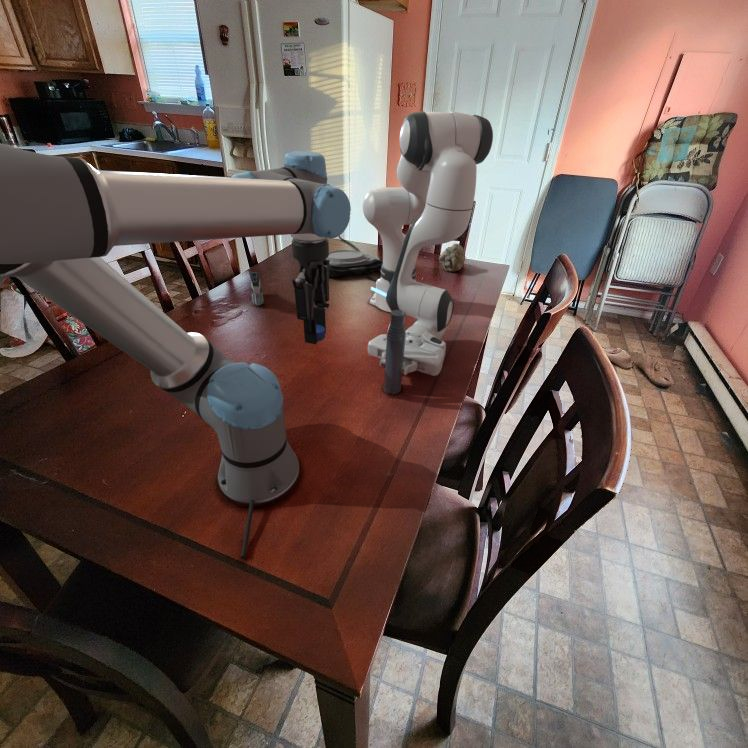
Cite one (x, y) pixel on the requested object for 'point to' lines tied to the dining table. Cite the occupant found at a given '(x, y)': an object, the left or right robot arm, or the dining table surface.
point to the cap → (320, 332)
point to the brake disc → (352, 263)
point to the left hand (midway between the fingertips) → (315, 337)
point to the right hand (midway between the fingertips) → (392, 368)
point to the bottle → (394, 352)
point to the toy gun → (256, 289)
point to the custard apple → (452, 258)
